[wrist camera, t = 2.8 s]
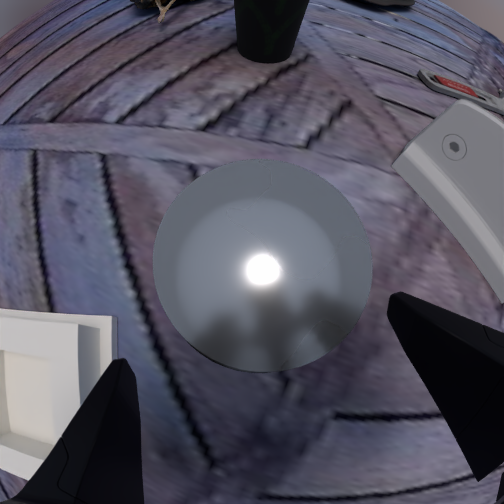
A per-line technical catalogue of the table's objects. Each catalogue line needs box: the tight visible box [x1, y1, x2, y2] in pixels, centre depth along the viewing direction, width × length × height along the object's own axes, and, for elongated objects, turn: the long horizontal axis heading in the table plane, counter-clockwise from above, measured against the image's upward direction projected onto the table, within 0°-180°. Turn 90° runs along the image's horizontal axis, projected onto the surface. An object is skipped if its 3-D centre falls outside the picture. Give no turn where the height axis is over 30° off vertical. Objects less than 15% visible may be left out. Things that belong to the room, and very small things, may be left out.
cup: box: [234, 0, 309, 63], centre depth 21 cm, size 8×8×12 cm
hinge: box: [391, 99, 504, 303], centre depth 19 cm, size 17×5×10 cm, turn 41°
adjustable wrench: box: [418, 69, 504, 115], centre depth 28 cm, size 8×26×2 cm, turn 87°
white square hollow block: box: [0, 309, 117, 480], centre depth 14 cm, size 12×12×4 cm
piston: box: [153, 159, 373, 373], centre depth 12 cm, size 5×5×13 cm
